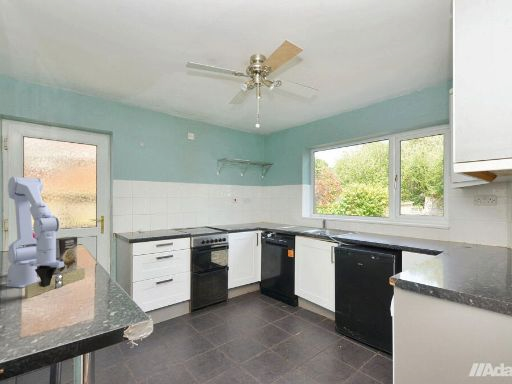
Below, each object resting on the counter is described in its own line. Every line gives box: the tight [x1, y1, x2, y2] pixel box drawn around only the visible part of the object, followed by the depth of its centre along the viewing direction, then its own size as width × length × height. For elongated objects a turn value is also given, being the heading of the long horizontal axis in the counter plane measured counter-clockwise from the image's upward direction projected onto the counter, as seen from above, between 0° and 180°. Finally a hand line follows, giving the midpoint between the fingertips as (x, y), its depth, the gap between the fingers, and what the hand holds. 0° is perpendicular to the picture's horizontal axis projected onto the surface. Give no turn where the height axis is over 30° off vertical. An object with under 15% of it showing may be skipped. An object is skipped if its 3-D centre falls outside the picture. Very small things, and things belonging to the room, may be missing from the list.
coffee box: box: [53, 236, 78, 275], centre depth 126 cm, size 9×6×16 cm
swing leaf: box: [24, 274, 62, 299], centre depth 98 cm, size 3×13×4 cm, turn 168°
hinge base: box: [54, 267, 86, 289], centre depth 108 cm, size 3×13×4 cm, turn 165°
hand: (46, 286), depth 97 cm, fingers closed
